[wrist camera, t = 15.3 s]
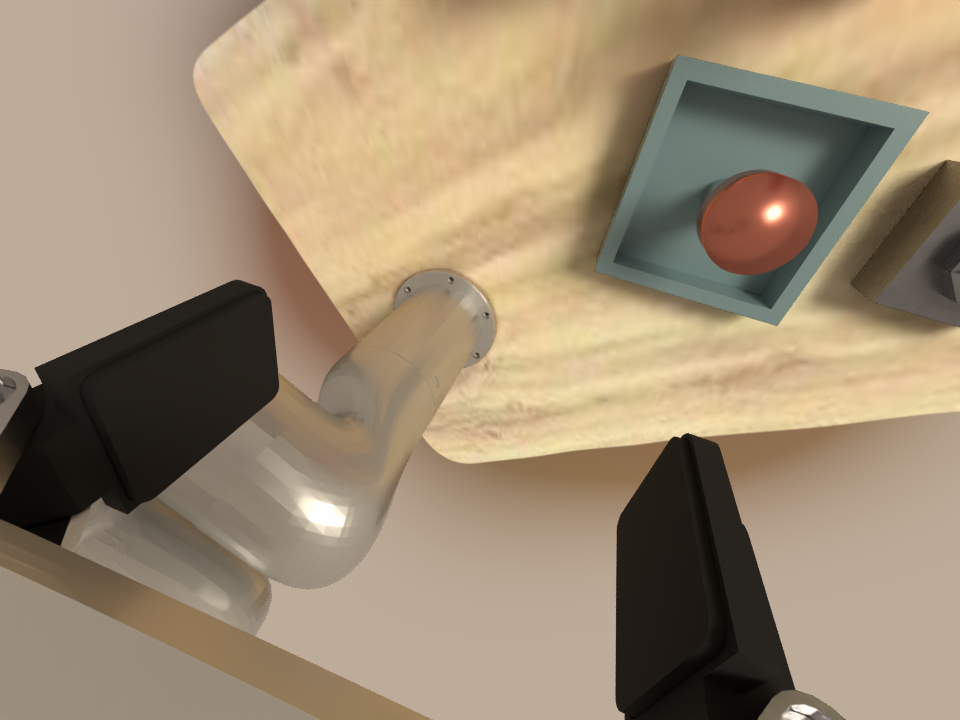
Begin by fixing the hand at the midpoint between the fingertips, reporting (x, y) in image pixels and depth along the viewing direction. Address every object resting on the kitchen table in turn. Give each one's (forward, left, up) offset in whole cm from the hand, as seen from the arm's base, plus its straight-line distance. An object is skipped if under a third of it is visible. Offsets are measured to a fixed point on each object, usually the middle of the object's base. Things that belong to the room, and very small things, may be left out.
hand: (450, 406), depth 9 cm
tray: (+2, -12, -34) cm, 36 cm away
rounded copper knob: (+2, -12, -34) cm, 36 cm away
